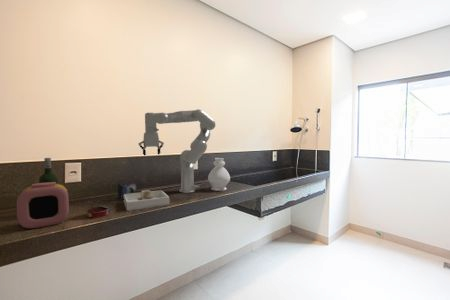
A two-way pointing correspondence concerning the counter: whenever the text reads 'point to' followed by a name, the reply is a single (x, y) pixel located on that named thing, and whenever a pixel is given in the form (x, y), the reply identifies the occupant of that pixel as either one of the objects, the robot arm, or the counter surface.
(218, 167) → the decorative vase
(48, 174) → the wine bottle
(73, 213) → the counter surface
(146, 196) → the plug
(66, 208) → the alarm clock
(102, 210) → the canned food
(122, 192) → the small box
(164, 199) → the walled box
